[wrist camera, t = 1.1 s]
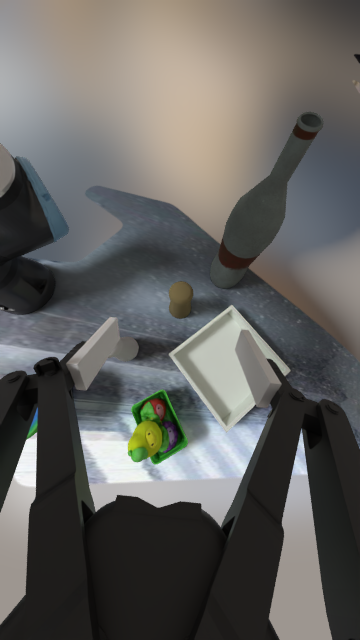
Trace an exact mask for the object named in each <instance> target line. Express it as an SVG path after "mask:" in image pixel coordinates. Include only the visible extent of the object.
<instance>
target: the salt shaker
mask: <svg viewBox="0 0 360 640" xmlns="http://www.w3.org/2000/svg"><path fill="white" fill-rule="evenodd" d="M138 349H139V346H138V344H137V341H136V340H134V339H133V338H131V337H121V338H120V340H119V341H118V343H117V344H116V346H115V347H114V349H113V351H112V352H111V354H110V355H109V357H108V358H111V357H115V358H117V359H118V360H120V361H124V362H126V361H130V360H132V359H133V358H135V357H136V355H137V353H138Z"/></svg>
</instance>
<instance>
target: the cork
mask: <svg viewBox="0 0 360 640" xmlns="http://www.w3.org/2000/svg"><path fill="white" fill-rule="evenodd" d="M169 297H170V300H171V301H170V305H169V311H170V313H171V314H172V316H174V317H175V318H179V319H180V318H185V317H187V316H188V315H189V314H190V312H191V302H190V301H191V300H192V298H193V289H192V287H191V286H190V285H189V284H188V283H186V282H182V281H181V282H176V283H174V284H173V285H172V286H171V288H170V290H169Z"/></svg>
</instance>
